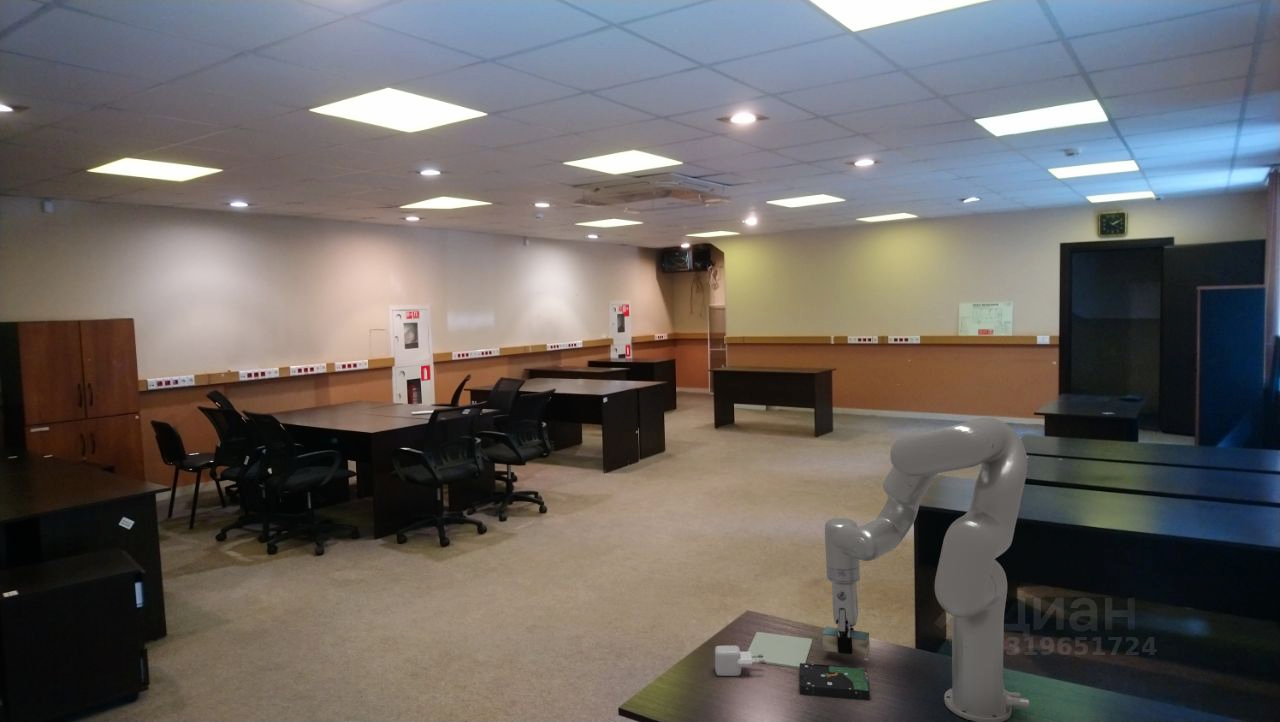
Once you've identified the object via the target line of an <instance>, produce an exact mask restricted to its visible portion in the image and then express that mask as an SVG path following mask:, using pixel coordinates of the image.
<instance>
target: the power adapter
mask: <svg viewBox="0 0 1280 722" xmlns="http://www.w3.org/2000/svg"><path fill="white" fill-rule="evenodd" d="M752 658H763V655H762V654H758V655H753V654H751V652H747V651H741V648H740V647H739V646H738V645H716V646H715V647H714V667H715V668H714V669H715V674H716V676H719V677H727V676H728V677H739V676H741V674H742V667H753V664H761V663H764V662H765V661H764V660H752Z"/></svg>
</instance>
